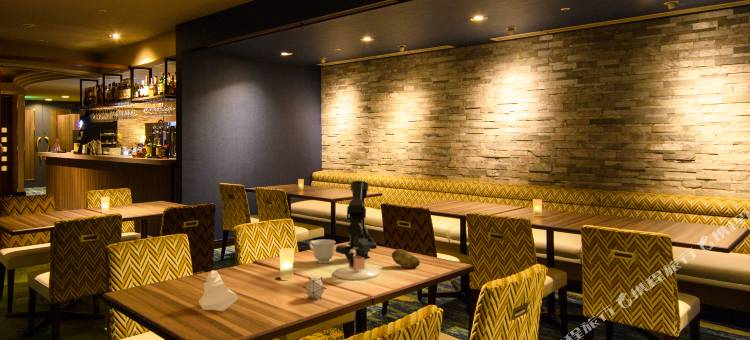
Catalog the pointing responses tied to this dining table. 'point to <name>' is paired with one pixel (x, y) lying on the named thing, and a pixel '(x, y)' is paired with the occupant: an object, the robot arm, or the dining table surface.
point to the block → (358, 263)
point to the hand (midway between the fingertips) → (356, 266)
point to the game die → (314, 288)
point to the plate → (356, 273)
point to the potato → (405, 259)
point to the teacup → (322, 249)
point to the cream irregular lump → (216, 294)
